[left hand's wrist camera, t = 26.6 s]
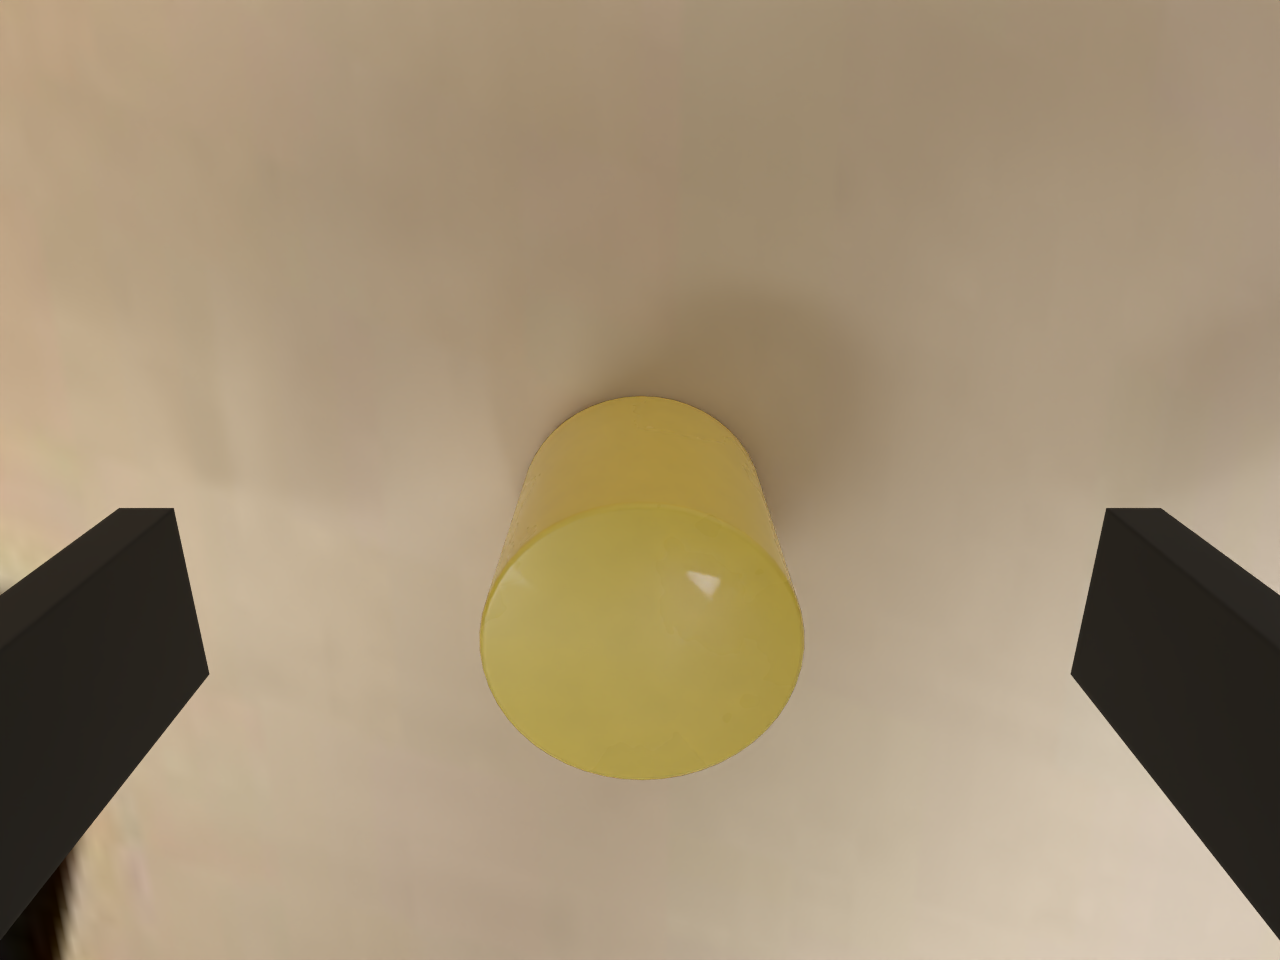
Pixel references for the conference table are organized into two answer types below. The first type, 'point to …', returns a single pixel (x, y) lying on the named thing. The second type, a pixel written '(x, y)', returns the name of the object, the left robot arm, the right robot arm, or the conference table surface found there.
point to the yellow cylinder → (641, 596)
